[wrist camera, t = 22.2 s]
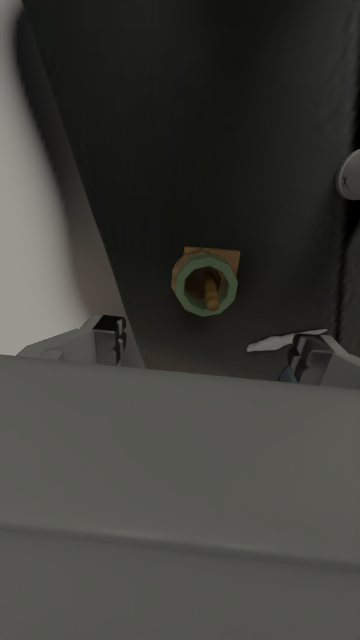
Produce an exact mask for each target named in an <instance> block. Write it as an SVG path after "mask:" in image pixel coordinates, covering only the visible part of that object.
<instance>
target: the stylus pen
mask: <svg viewBox="0 0 360 640" xmlns="http://www.w3.org/2000/svg"><path fill="white" fill-rule="evenodd" d="M325 331H327V329H322V330H313V331H307V332H302V333H303V334H320V333H322V332H325ZM295 334H296V333H293V334H288V335H285V336H281V337H279V336H271V337H268V338H266V339H264V340H262V341H258V343H254V344H249V345H248V347H249V348H247V352H251V351H264V350H277V349H279V348H281V347H282V346H284V345H287V344H290V343H293V342H292V340H293V337H294V335H295Z"/></svg>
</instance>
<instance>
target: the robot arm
mask: <svg viewBox="0 0 360 640" xmlns="http://www.w3.org/2000/svg"><path fill="white" fill-rule="evenodd" d="M125 327H126V320H125V318H124V317H118V316H109V315H100V314H93V315H92V316H91V317H90V318H89V319H88V320H87V321H86V322H85V323H84V324H83V326H82V327H81V328H80V329H74V330H71V331H69V332H66V333H63V334H60V335H57V336H54V337H52V338H49V339H46V340H43V341H40V342H37V343H34V344H32V345H28V346H26V347H25V348H24V349H23V350H22V351H21V352H19V353H18V354H17V355H16V356H9V355H0V640H360V358H358V357H356V356H354V355H351V354H348V353H347V352H346V351H345V350H344V349H343V348H342V347H341V346H340V345H339V344H338V343H337V342H336V341H335V340H334V339H333V338H332V337H331V336H329V335H317V334H303V333H296V334H295V335H294V337H293V340H292V342H293V344H294V346H293V347H291V348H290V349H289V352H288V365H289V367H290V368H291V369H292V370H294V371H295V372H294V376H295V378H296V380H297V382H298V383H288V382H278V381H268V380H257V379H247V378H237V377H226V376H216V375H206V374H196V373H185V372H175V371H165V370H155V369H144V368H134V367H124V366H117V364H118V362H119V360H120V354H121V353H123V351H124V349H125V345H126V333H125V332H124V328H125Z"/></svg>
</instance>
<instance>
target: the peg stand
mask: <svg viewBox="0 0 360 640" xmlns="http://www.w3.org/2000/svg"><path fill="white" fill-rule="evenodd" d="M201 248H204V247H192V246H185V247H184V253H185V252H187V251H192V250H197V249H201ZM204 249H206V250H208V251H211V252H213V253H215V254H217V255H219V256H220V257H221V258H223V259H225V260H227V261H228V263H229V265H230V267H231V269H232V271H233V273H234V275H235V277H236V275H237V270H238V264H239V259H240V253H241V252H240V251H239V250H227V249H216V248H204ZM218 278H219V273H218V271H217V269H215V268H213V267H211V266H207V267H202V268H197V269H194V270H193V271H192V272H191V274H190V275H189V276H188V277H187V278H186V279H185V288H186V290H187V291H189V292H192V293H194V294H196V295H199V294H204V293H205V305H206V308H207V309H208V310H209V311H211V312H214V311H217V310H218V309H219V307H220V302H219V297H218V292H217V287H216V285H217V284H218Z"/></svg>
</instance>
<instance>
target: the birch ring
mask: <svg viewBox="0 0 360 640" xmlns="http://www.w3.org/2000/svg"><path fill="white" fill-rule="evenodd" d="M205 253H212V254H214V255H216V256H219V255H217V254H215V253H213V252H211V251H208V250H206V249H204V248H201V249H197V250H192V251H187V252H185V253H184V254H183V255H182V257H181V258H180V259H179V260H178V261H177V262H176V263H175V265H174V267H173V270H172V282H171V288H172V289H173V291H174V292H175V294H176V282H177V275H178V271H179V270H180V268H181V267H182V266H183V265H184V264H185V263H186V262H187V260H188V259H189V258H190V257H192V256H196V255H201V254H205ZM219 257H220V256H219ZM217 271H218V273H219V278H218V284H217V285H216V287H217V292H218V297H219V296H220V295H221V294H222V293H223V292H224V291H225V287H226V281H227V279H226V277H225V275H224V273H223V272H222V271H220V270H217ZM188 293H189V294H190V296H191V297H192V298H194V299H197V300H199V301H201V302H205V293H204V294H199V295H196V294H194V293H192V292H189V291H188Z"/></svg>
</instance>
